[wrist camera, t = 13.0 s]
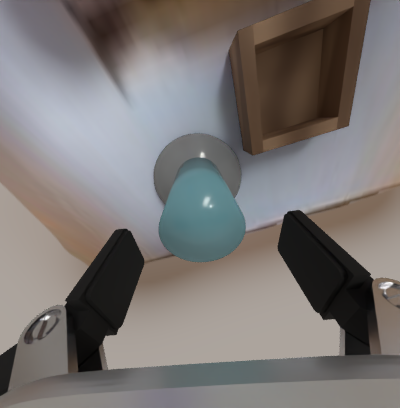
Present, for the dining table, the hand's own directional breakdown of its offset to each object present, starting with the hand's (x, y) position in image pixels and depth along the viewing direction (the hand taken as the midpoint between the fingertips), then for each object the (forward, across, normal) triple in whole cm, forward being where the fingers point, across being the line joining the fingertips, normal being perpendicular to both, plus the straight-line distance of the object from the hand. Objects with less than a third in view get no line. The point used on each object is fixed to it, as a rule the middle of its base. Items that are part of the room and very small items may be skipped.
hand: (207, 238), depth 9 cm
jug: (+12, +1, +3) cm, 13 cm away
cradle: (+14, -10, -8) cm, 19 cm away
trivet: (+13, +1, +1) cm, 13 cm away
